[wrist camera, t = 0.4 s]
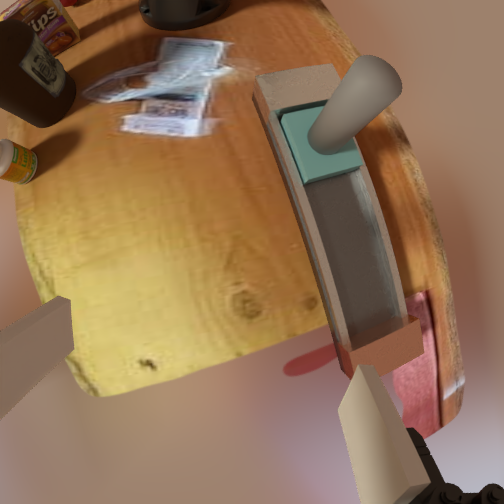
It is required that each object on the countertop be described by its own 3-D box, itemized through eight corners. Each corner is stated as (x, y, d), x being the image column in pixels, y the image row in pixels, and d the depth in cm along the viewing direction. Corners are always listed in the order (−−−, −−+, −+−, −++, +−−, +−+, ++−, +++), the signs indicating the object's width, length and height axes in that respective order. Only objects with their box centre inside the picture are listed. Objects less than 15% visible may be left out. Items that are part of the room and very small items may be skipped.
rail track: (252, 99, 35) (255, 76, 29) (319, 85, 36) (332, 63, 30) (340, 369, 37) (357, 387, 31) (401, 340, 37) (424, 352, 31)
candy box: (40, 68, 33) (-4, 26, 18) (39, 54, 33) (-1, 12, 17) (81, 42, 33) (45, -10, 18) (80, 28, 33) (46, -21, 18)
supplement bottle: (41, 172, 34) (1, 156, 24) (18, 191, 33) (-23, 181, 24) (34, 144, 33) (-3, 125, 24) (12, 163, 33) (-26, 149, 23)
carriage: (279, 124, 33) (313, 38, 16) (330, 113, 34) (389, 35, 17) (302, 185, 33) (361, 133, 17) (353, 170, 34) (435, 120, 17)
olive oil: (26, 142, 33) (-83, 85, 8) (31, 89, 33) (-54, 21, 8) (79, 116, 34) (-25, 26, 9) (81, 64, 33) (6, -30, 8)
